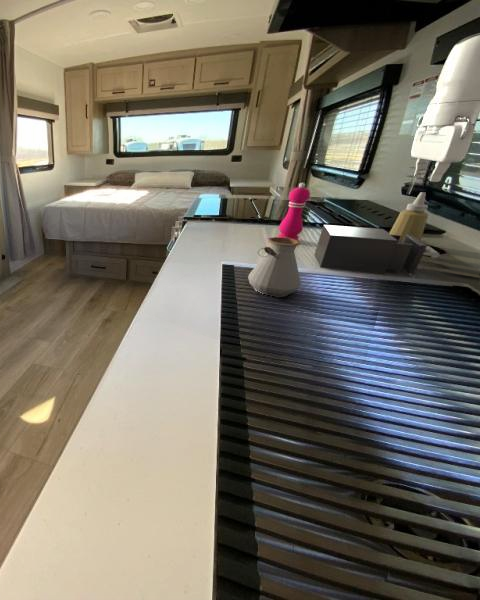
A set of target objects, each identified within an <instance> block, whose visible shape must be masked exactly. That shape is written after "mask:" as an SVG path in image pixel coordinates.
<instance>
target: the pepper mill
mask: <svg viewBox="0 0 480 600" xmlns="http://www.w3.org/2000/svg"><path fill="white" fill-rule="evenodd" d="M310 196H311V192H310V190H309V189H308V188H306V183H305V182H300V183H299V184H298V187H295V188H293V189H291V191H290V192H289V194H288V198H289V199H288V200H289V202H288V210H287V213H286V215H285V217H284V218H283V219H282V220H281V222H280V224H279V227H278V231H279V232H280V233H279V234H278V236H277V237H284V238H291V239H295V240H297V241H299V238H300V236H299V234H301V233H302V232H303V228H304V227H303V226H304V225H303V224H304V223H303V219H302V218H303V217H302V214H303V210H304V208H305V207H306V204H307V203H306V202H307V201H308V200H309V199H310Z"/></svg>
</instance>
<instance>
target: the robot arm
mask: <svg viewBox="0 0 480 600" xmlns="http://www.w3.org/2000/svg"><path fill="white" fill-rule="evenodd" d="M479 114H480V32H478V33H475V34H472V35H469V36H466V37H464V38H463V39H461V40H459V41H458V42H457V43H456V44H454V46H453V47H452V49H451V50H450V52H449V53H448V56H447V58H446V60H445V62H444V64H443V66H442V69H441V71H440V74H439V76H438V79H437V82H436V90H435V94H434V95H433V98H432V99H431V100H430V102H429V105H428V106H427V110H426V111H425V113H424V114H423V115H422V116H420V117H419V119H418V120H417V124H416V127H417V128H418V129H417V130H416V133H415V136H414V140H413V143H412V147H411V154H410V156H411V158H415V159H416V158H417V159H416V162H415V171H414V174H413V176H414V178H424V177H425V176H426V174H427V167H428V164H429V163H430V161H433V162H435V165H434V167H435V168H434V169H433V170H432V173H431V172H430V174H429V177H428V179H427V180H428V181H429V182H432V183H439V182H441V180H442V179H443V176H444V174H445V173H446V172H447V171H448V169H449V168H450V166H451V164H452V163H461V162H462V161H463V160H464V159H465V158H466V156H467V154H468V151H469V148H470V145H471V142H472V139H473V137H474V133H475V126H474V124H476V122H477V119H478V117H479Z"/></svg>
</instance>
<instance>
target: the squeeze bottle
mask: <svg viewBox="0 0 480 600" xmlns="http://www.w3.org/2000/svg"><path fill="white" fill-rule="evenodd" d="M426 194H427V193H426V192H422V191H421V192H419V194H418V195H417V197H416V198H415V199H414V201H413V203H408V204H407V206H406V208H405V210H402V211H401V212H400V213H399V214H398V216H397V218H396V220H395V222H394V223H393V224H392V227H391V229H390V230H389V232H388V233H389V234H391V235H400V239H399V241H398V243H402V241H403V238H404V236H405V234H408V235H412V236H413V237H415V238H416V239H417V240H419V241H420V242H422V241H421V240H422V238H423V234H424V231H425V227H426V224H427V220H428V218H429V213H428V212H426V211H427V210H428V207H429V205H428V204H425V202H426V201H425V200H426Z"/></svg>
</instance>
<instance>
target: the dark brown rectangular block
mask: <svg viewBox="0 0 480 600" xmlns="http://www.w3.org/2000/svg"><path fill="white" fill-rule="evenodd" d="M389 233H390V232H388V231H387V230H385V229H384V228H374V227H362V226H361V227H358V226H346V225H345V226H344V225H332V224H323V226H322V229H321V232H320V235H319V238H318V242H317V245H316V248H315V252H314V257H315V259H316V261H317V263H318V265H319V268H321V269H331V270H340V271H349V272H356V273H357V272H358V273H365V274H373V273H374V274H375V275H385V273H386V270H387V269H386V268H387V266H388V263H389V261H390V258H391V256H392V254H393V251H394V249H395V246H396V244H397V242H398V240H397V239H395V238H394V237H393V236H391V235H390V234H389Z"/></svg>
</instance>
